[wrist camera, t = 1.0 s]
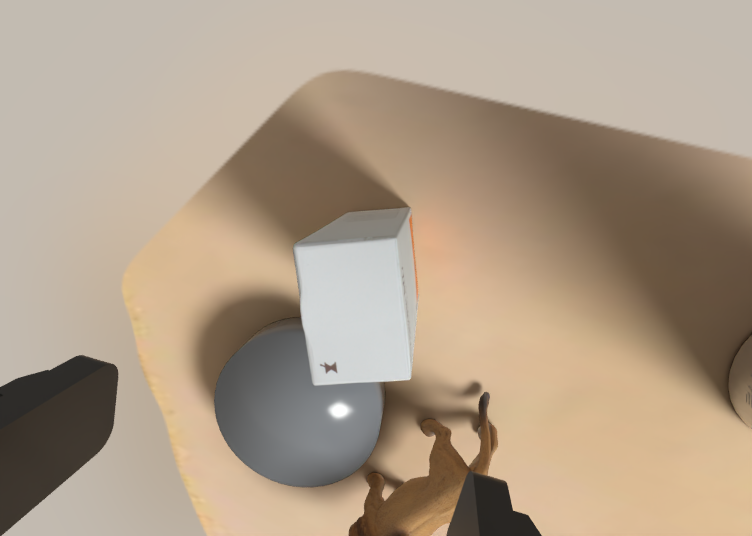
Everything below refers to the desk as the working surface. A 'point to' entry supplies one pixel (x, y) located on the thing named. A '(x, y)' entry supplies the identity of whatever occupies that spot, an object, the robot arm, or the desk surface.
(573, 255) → the desk surface
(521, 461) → the desk surface
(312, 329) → the skincare box
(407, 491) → the lion figurine
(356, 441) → the grey rounded flat disc
